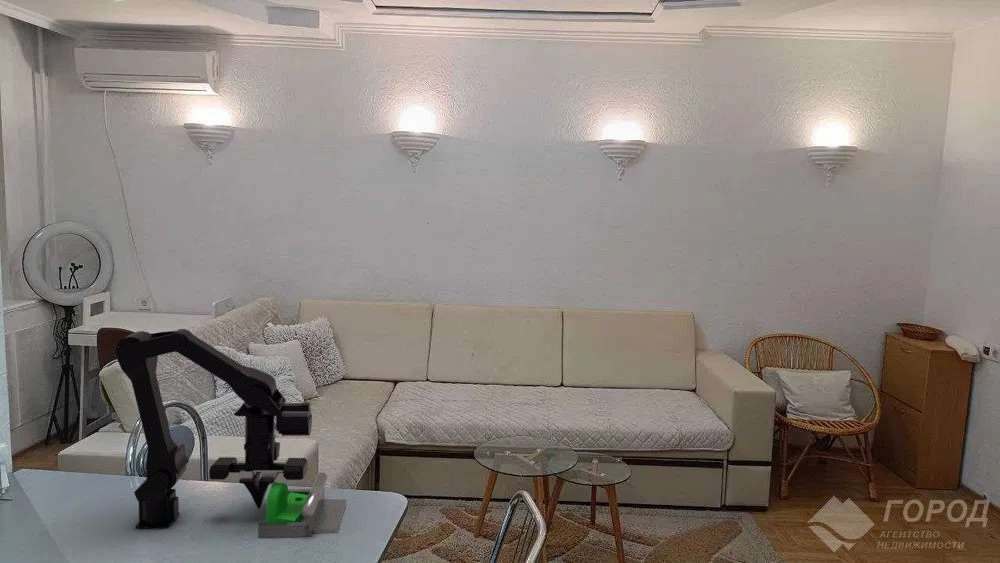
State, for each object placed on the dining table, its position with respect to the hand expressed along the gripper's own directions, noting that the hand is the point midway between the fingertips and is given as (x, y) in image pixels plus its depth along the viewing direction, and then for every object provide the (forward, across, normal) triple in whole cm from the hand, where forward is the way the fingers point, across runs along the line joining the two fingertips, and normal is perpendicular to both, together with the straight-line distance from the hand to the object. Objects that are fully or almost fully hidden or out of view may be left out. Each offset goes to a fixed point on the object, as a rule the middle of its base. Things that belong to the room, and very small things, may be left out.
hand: (259, 507), depth 146 cm
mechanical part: (+2, -6, -1) cm, 7 cm away
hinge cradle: (+2, -9, -1) cm, 10 cm away
